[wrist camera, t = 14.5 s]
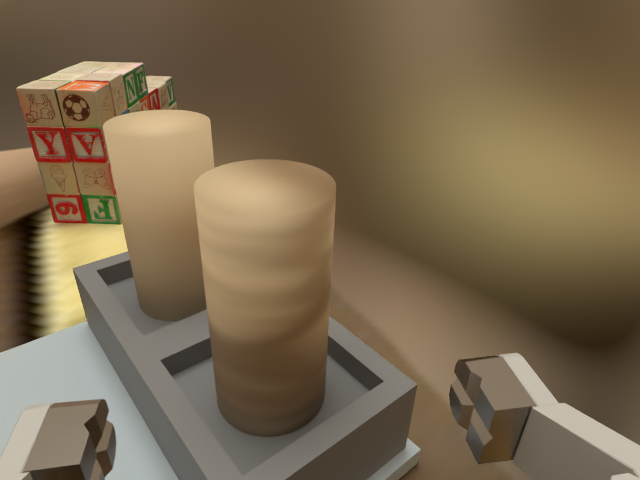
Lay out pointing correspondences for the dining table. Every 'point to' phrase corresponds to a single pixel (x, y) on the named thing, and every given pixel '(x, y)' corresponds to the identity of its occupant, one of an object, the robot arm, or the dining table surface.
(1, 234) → the dining table surface
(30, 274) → the dining table surface
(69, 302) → the dining table surface
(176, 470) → the grey socket tray board
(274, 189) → the beech post
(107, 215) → the stack of blocks
